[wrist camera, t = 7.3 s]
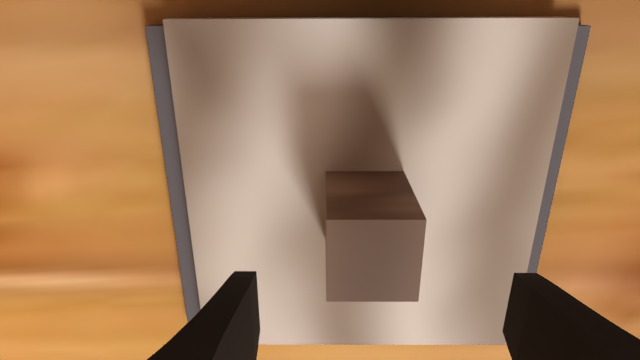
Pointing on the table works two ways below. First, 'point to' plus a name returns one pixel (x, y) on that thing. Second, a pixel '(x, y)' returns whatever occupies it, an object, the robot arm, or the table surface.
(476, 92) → the lid
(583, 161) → the table surface
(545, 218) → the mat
